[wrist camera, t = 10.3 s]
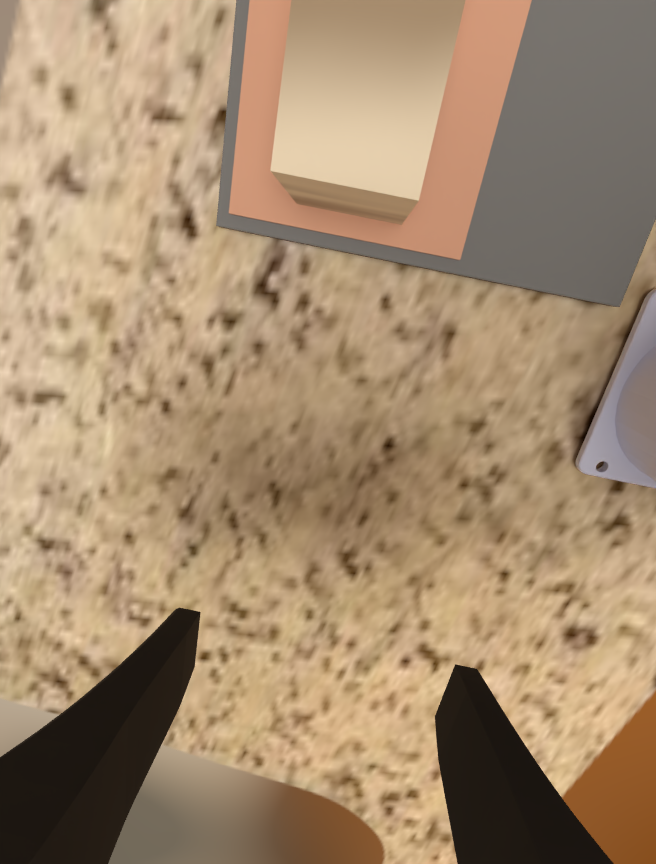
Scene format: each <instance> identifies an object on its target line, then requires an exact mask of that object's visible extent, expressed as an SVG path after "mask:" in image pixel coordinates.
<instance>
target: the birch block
mask: <svg viewBox="0 0 656 864" xmlns="http://www.w3.org/2000/svg"><path fill="white" fill-rule="evenodd" d="M464 5H465V0H291V7H290V15H289V23H288V31H287V40H286V48H285V56H284V64H283V72H282V80H281V88H280V96H279V105H278V113H277V121H276V129H275V137H274V145H273V153H272V161H271V170H270V171H271V172H272V174H273V175H274V176H275V177H276V179H277V180H278V181H279V182H280V184H281V185H282V186H283V187H284V189H285V190H286V191H287V192H288V193H289V195H290V196H291V197H292V198H293V200H294V201H295V202H296V203H297V204H300V205H305V206H310V207H315V208H320V209H325V210H330V211H335V212H340V213H345V214H350V215H355V216H360V217H365V218H370V219H375V220H380V221H385V222H390V223H395V224H400V225H402V224H403V222H404V221H405V219H406V218H407V217H408V215H409V214H410V212H411V211H412V210H413V208H414V207H415V205H416V204H417V203H418V201H419V198H420V193H421V189H422V185H423V181H424V176H425V172H426V168H427V163H428V159H429V155H430V151H431V146H432V142H433V138H434V133H435V129H436V125H437V121H438V116H439V112H440V108H441V103H442V99H443V95H444V90H445V86H446V82H447V78H448V73H449V69H450V65H451V60H452V56H453V52H454V48H455V43H456V39H457V35H458V30H459V26H460V22H461V18H462V13H463V9H464Z"/></svg>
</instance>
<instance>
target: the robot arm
mask: <svg viewBox="0 0 656 864" xmlns="http://www.w3.org/2000/svg"><path fill="white" fill-rule="evenodd" d="M602 461H604V464H603V466H602V467H600V468H598V469H596V465H597V464H598V463H599V462H602ZM575 464H576V467H577V468H578V469H579V470H580V471H581V472H582V473H584V474H587V475H592V476H597V477H602V478H607V479H612V480H617V481H622V482H626V483H631V484H636V485H641V486H646V487H651V488H656V289H654V290H652V291H651V292H649V293H648V294H647V296H646V297H645V299H644V302H643V304H642V306H641V309H640V311H639V313H638V316H637V318H636V320H635V323H634V325H633V327H632V330H631V332H630V334H629V337H628V339H627V341H626V344H625V346H624V348H623V351H622V353H621V355H620V358H619V360H618V362H617V365H616V367H615V369H614V372H613V374H612V376H611V379H610V381H609V383H608V386H607V388H606V390H605V393H604V395H603V398H602V400H601V402H600V405H599V407H598V409H597V412H596V414H595V416H594V419H593V421H592V423H591V426H590V428H589V430H588V433H587V435H586V437H585V440H584V442H583V444H582V447H581V449H580V451H579V454H578V456H577V458H576V462H575ZM199 621H200V612H198V611H193V610H188V609H183V608H178V609H176V610H174V611H173V613H172V614H171V615H170V616H169V617H168V618H167V619H166V620H165V621H164V622H163V623H162V624H161V625H160V626H159V627H158V628H157V629H156V630H155V631H154V633H153V634H152V635H151V636H150V637H148V638H147V639H146V640H145V641H144V642H143V643H142V644H141V645H140V646H139V647H138V648H137V649H136V650H135V651H134V652H133V653H132V654H131V655H130V656H129V657H128V658H126V659H125V660H124V661H123V662H122V663H121V664H120V665H119V666H118V667H117V668H116V669H115V670H113V671H112V672H111V673H110V674H109V675H108V676H106V677H105V678H104V679H103V680H102V681H101V682H99V683H98V684H97V685H96V686H95V687H94V688H92V689H91V690H90V691H89V692H88V693H86V694H85V695H84V696H83V697H82V698H80V699H79V700H78V701H77V702H75V703H74V704H73V705H72V706H70V707H69V708H68V709H67V710H65V711H64V712H63V713H61V714H60V715H59V716H57V717H56V718H55V719H54V720H52V721H51V722H49V723H48V724H47V725H45V726H44V727H43V728H42V729H40V730H39V731H37V732H36V733H34V734H33V735H32V736H30V737H29V738H27V739H26V740H25V741H23V742H22V743H20V744H19V745H17V746H16V747H14V748H13V749H11V750H10V751H9V752H7V753H6V754H4V755H3V756H1V757H0V864H108V862H109V860H110V857H111V855H112V852H113V850H114V847H115V844H116V842H117V840H118V837H119V835H120V832H121V830H122V827H123V825H124V822H125V820H126V818H127V815H128V813H129V811H130V809H131V807H132V804H133V802H134V800H135V798H136V796H137V794H138V792H139V790H140V787H141V786H142V783H143V781H144V779H145V777H146V775H147V773H148V771H149V769H150V767H151V765H152V763H153V761H154V759H155V757H156V755H157V753H158V750H159V748H160V746H161V744H162V742H163V740H164V738H165V736H166V734H167V732H168V730H169V728H170V726H171V724H172V722H173V719H174V717H175V715H176V713H177V711H178V709H179V707H180V704H181V702H182V699H183V696H184V694H185V691H186V689H187V686H188V683H189V680H190V678H191V675H192V672H193V669H194V667H195V657H196V648H197V639H198V630H199ZM435 723H436V737H437V749H438V760H439V765H440V771H441V777H442V782H443V788H444V793H445V799H446V804H447V809H448V814H449V820H450V825H451V830H452V836H453V841H454V846H455V852H456V857H457V862H458V864H613V862H612V861H611V860H610V859H609V858H608V856H607V855H606V854H605V853H604V852H603V850H602V849H601V848H600V847H599V845H598V844H597V843H596V842H595V840H594V839H593V838H592V837H591V835H590V834H589V833H588V832H587V830H586V829H585V828H584V827H583V825H582V824H581V823H580V822H579V820H578V819H577V818H576V816H575V815H574V814H573V812H572V811H571V810H570V809H569V807H568V806H567V805H566V803H565V802H564V800H563V799H562V798H561V796H560V795H559V794H558V792H557V791H556V789H555V788H554V787H553V785H552V784H551V782H550V781H549V780H548V778H547V777H546V775H545V774H544V773H543V771H542V770H541V768H540V767H539V765H538V764H537V762H536V761H535V759H534V758H533V756H532V755H531V753H530V752H529V750H528V749H527V747H526V746H525V744H524V743H523V741H522V740H521V738H520V737H519V735H518V734H517V732H516V731H515V729H514V727H513V726H512V724H511V723H510V721H509V720H508V718H507V716H506V715H505V713H504V712H503V710H502V708H501V707H500V705H499V704H498V702H497V700H496V699H495V697H494V696H493V694H492V692H491V691H490V689H489V687H488V686H487V684H486V683H485V681H484V679H483V678H482V676H481V675H480V673H479V671H478V670H477V669H474V668H470V667H465V666H460V665H455V667H454V669H453V672H452V674H451V677H450V679H449V682H448V684H447V687H446V690H445V692H444V695H443V697H442V700H441V702H440V705H439V707H438V710H437V713H436V715H435Z"/></svg>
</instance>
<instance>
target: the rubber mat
mask: <svg viewBox="0 0 656 864" xmlns="http://www.w3.org/2000/svg"><path fill="white" fill-rule="evenodd" d="M290 7H291V0H236V11H235V23H234V34H233V45H232V56H231V67H230V79H229V90H228V101H227V112H226V123H225V134H224V146H223V157H222V168H221V179H220V190H219V202H218V213H217V224H216V226H219V227H223V228H228V229H233V230H238V231H243V232H248V233H253V234H258V235H262V236H267V237H272V238H277V239H282V240H287V241H292V242H297V243H302V244H307V245H312V246H317V247H322V248H327V249H332V250H337V251H342V252H347V253H352V254H357V255H362V256H366V257H371V258H376V259H381V260H386V261H391V262H396V263H401V264H406V265H411V266H416V267H421V268H426V269H431V270H436V271H441V272H446V273H451V274H456V275H461V276H466V277H470V278H475V279H480V280H485V281H490V282H495V283H500V284H505V285H510V286H515V287H520V288H525V289H530V290H535V291H540V292H545V293H550V294H555V295H560V296H565V297H570V298H574V299H579V300H584V301H589V302H594V303H599V304H604V305H609V306H615V307H620V305H621V302H622V300H623V297H624V295H625V292H626V290H627V288H628V285H629V283H630V280H631V278H632V275H633V273H634V270H635V268H636V266H637V263H638V261H639V258H640V256H641V253H642V251H643V249H644V246H645V244H646V241H647V239H648V236H649V234H650V231H651V229H652V227H653V224H654V222H655V219H656V0H465V5H464V9H463V13H462V18H461V22H460V26H459V30H458V35H457V39H456V43H455V48H454V52H453V56H452V60H451V65H450V69H449V73H448V78H447V82H446V86H445V90H444V95H443V99H442V103H441V108H440V112H439V116H438V121H437V125H436V129H435V133H434V138H433V142H432V146H431V151H430V155H429V159H428V163H427V168H426V172H425V176H424V181H423V185H422V189H421V193H420V198H419V201H418V203H417V204H416V205H415V207H414V208H413V210H412V211H411V212H410V214H409V215H408V217H407V218H406V219H405V221H404V222H403V224H402V225H400V224H395V223H390V222H385V221H380V220H375V219H370V218H365V217H360V216H355V215H350V214H345V213H340V212H335V211H330V210H325V209H320V208H315V207H310V206H305V205H300V204H297V203H296V202H295V201H294V200H293V198H292V197H291V196H290V195H289V193H288V192H287V191H286V190H285V189H284V187H283V186H282V185H281V184H280V182H279V181H278V180H277V179H276V177H275V176H274V175H273V174H272V172H271V171H270V170H271V161H272V153H273V145H274V137H275V129H276V121H277V113H278V105H279V96H280V88H281V80H282V72H283V64H284V56H285V48H286V40H287V31H288V23H289V15H290Z"/></svg>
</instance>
